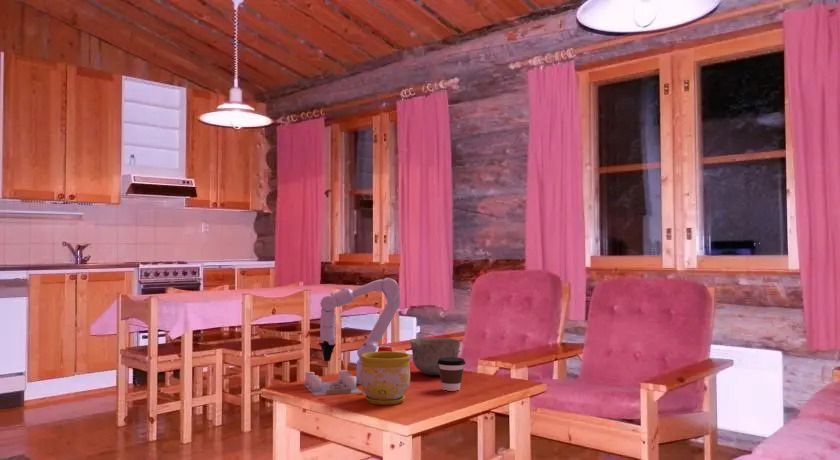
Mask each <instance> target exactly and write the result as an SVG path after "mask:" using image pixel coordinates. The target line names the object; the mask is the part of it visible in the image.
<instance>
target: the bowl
mask: <svg viewBox="0 0 840 460" xmlns="http://www.w3.org/2000/svg"><path fill="white" fill-rule="evenodd" d="M409 343H410V346H411V347H410V349H411V353H412V362H413V364H414V367H416V369H417V370H418V371H420V372H421V373H423V374H425V375H428V376H433V375H438V376H440V371H439V368H440V367H439V364H438V363H437V361H438V359H439V358H444V357H457V358H458V356H459V355H458V354H459V353H460V352H461V351H460V347H461V341H460V340H458V339H453V338H431V337H428V338H426V337H424V338H423V337H422V338H412V339H409Z"/></svg>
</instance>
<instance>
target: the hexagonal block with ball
mask: <svg viewBox="0 0 840 460" xmlns="http://www.w3.org/2000/svg"><path fill="white" fill-rule="evenodd" d="M334 389H344V385H343V384H331V385H330V390H334Z"/></svg>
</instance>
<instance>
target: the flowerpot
mask: <svg viewBox="0 0 840 460" xmlns="http://www.w3.org/2000/svg"><path fill="white" fill-rule="evenodd" d="M411 358H412V356H411V354H410V353H407V352H400V351H392V352H390V351H380V352H378V351H375V352H368V353H364V354H362V355H361V359H362V363H361V364H362V368H361V384H360V385H361V389H362V390H363V392H364V394H365V397H364V398H365V399H366V401H367V402H368V403H369V404H373V405H381V406H390V405H391V406H392V405H397V404H400V403H402V402H403V401H404V399H405V398H406V396H405V394H406V392H407V391H408V389H409V388H410V387H409V386H410V384H411V369H410V364H411V363H410V360H411Z"/></svg>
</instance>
